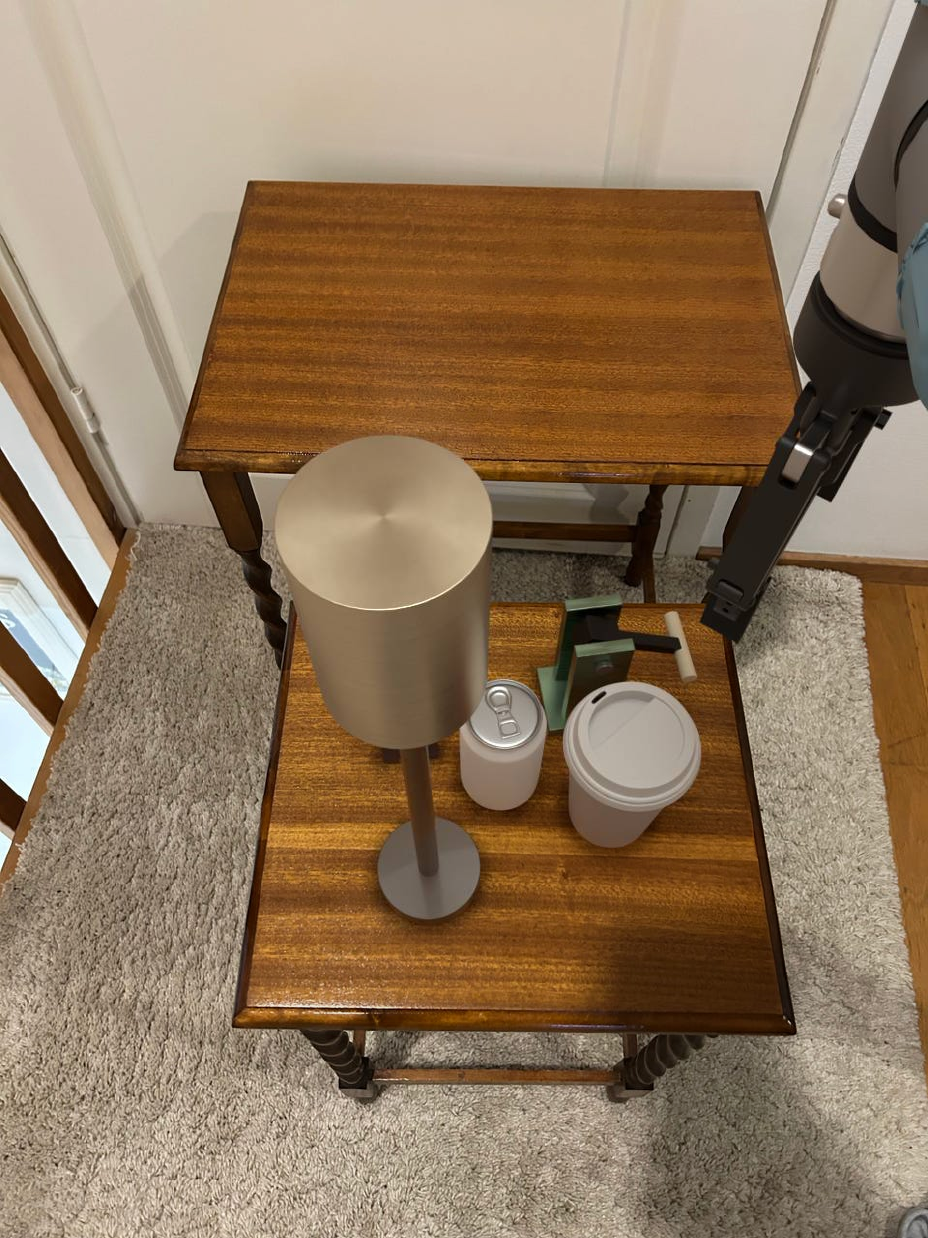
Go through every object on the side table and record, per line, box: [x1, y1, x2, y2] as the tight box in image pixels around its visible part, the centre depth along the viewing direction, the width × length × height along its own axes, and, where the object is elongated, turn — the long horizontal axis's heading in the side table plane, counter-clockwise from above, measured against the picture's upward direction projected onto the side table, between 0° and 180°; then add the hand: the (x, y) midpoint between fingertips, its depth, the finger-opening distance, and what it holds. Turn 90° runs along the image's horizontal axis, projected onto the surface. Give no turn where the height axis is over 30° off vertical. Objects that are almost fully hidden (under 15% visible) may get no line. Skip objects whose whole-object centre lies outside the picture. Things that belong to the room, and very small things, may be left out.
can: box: [459, 678, 547, 811], centre depth 73 cm, size 6×6×12 cm
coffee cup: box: [562, 681, 702, 849], centre depth 70 cm, size 10×10×15 cm
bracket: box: [535, 593, 636, 737], centre depth 76 cm, size 7×6×13 cm
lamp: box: [273, 434, 494, 927], centre depth 54 cm, size 8×8×46 cm
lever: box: [571, 610, 698, 683], centre depth 73 cm, size 10×6×2 cm, turn 98°
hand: (770, 556), depth 61 cm, fingers open, 13 cm apart
